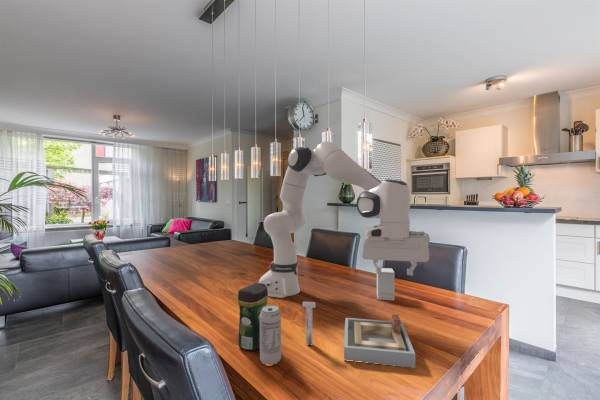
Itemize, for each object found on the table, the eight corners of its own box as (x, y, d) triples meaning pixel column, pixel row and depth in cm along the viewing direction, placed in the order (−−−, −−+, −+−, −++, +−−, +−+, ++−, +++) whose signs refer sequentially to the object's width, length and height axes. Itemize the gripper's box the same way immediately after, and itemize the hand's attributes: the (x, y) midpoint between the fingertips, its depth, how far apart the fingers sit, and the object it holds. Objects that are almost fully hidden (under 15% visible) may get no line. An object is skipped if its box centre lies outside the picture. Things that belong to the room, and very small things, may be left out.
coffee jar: (252, 333, 93) (252, 279, 93) (272, 339, 90) (272, 282, 89) (233, 347, 85) (232, 287, 85) (254, 354, 81) (253, 292, 81)
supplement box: (394, 301, 122) (395, 272, 122) (377, 299, 123) (377, 271, 123) (392, 295, 129) (392, 268, 129) (376, 294, 131) (376, 267, 130)
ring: (355, 353, 80) (355, 329, 80) (354, 330, 93) (354, 309, 93) (405, 358, 77) (406, 333, 77) (397, 333, 91) (397, 312, 91)
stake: (302, 345, 86) (302, 303, 86) (303, 342, 88) (303, 301, 88) (315, 346, 85) (315, 304, 85) (315, 343, 87) (315, 301, 87)
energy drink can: (281, 354, 81) (281, 304, 81) (280, 367, 75) (280, 312, 75) (261, 355, 81) (260, 304, 81) (258, 367, 75) (258, 313, 75)
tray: (344, 361, 78) (344, 347, 78) (345, 329, 96) (345, 317, 96) (415, 368, 74) (415, 353, 74) (402, 333, 93) (402, 322, 93)
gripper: (426, 230, 88) (426, 273, 89) (361, 228, 92) (361, 269, 92) (432, 233, 82) (432, 279, 82) (362, 231, 86) (362, 275, 86)
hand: (394, 274), depth 87 cm, fingers open, 8 cm apart
